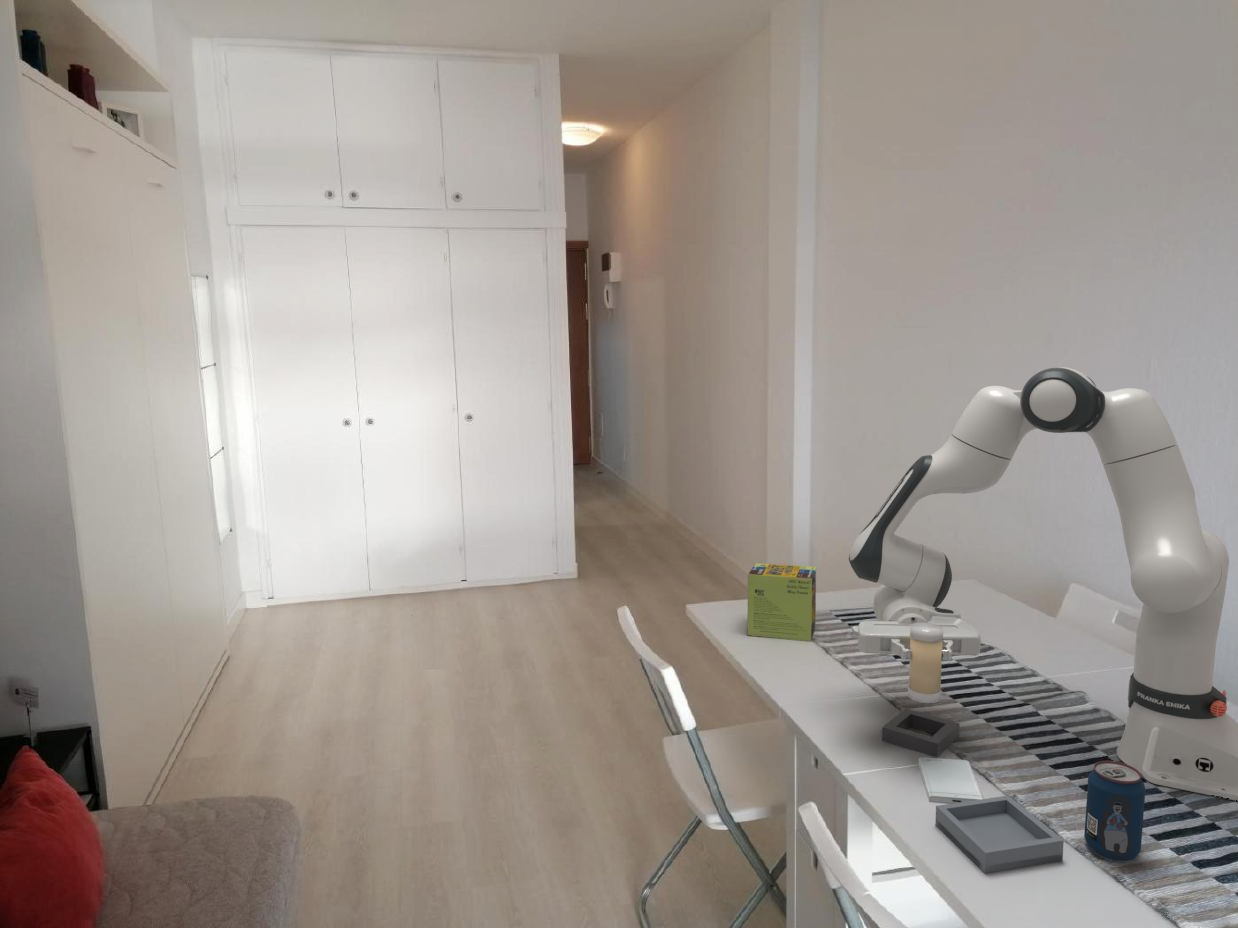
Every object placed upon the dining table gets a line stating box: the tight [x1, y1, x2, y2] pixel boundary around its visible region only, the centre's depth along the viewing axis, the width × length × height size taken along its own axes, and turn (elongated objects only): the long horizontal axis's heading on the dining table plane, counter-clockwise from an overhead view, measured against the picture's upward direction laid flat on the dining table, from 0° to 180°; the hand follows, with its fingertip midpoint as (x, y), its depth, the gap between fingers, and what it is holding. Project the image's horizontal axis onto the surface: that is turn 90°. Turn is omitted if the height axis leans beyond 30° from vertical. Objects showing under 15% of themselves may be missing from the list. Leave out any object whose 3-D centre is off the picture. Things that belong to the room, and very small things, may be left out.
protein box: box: [746, 562, 817, 642], centre depth 211 cm, size 10×15×16 cm
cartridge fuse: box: [907, 622, 944, 704], centre depth 145 cm, size 5×5×12 cm
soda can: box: [1083, 760, 1146, 863], centre depth 122 cm, size 7×7×12 cm
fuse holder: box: [881, 707, 960, 758], centre depth 157 cm, size 10×10×2 cm
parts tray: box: [934, 795, 1064, 874], centre depth 125 cm, size 12×12×3 cm
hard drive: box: [917, 756, 985, 804], centre depth 141 cm, size 2×8×12 cm
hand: (927, 655), depth 144 cm, fingers closed on cartridge fuse, 5 cm apart
